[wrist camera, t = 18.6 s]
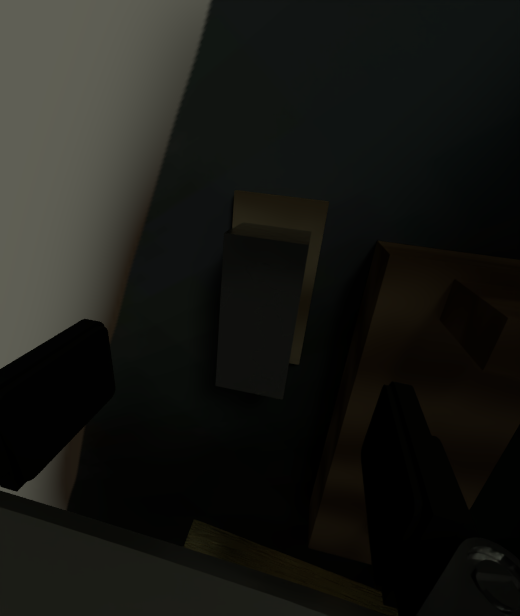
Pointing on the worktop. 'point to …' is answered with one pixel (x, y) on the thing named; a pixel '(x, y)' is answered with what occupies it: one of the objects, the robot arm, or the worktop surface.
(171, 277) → the worktop surface
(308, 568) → the lever
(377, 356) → the plane body
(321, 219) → the cork pad
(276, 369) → the black rectangular block
